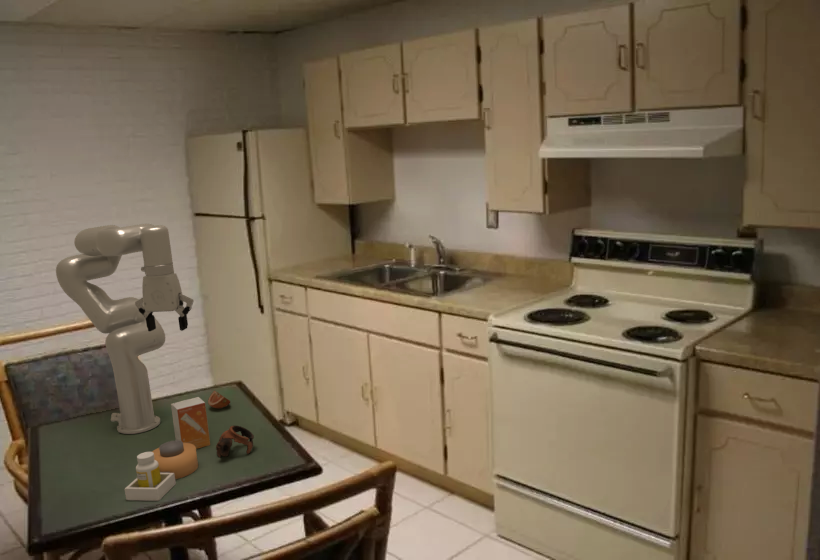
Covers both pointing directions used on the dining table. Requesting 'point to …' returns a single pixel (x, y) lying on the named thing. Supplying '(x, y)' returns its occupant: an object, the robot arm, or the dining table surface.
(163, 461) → the disc and frame
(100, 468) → the dining table surface
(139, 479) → the supplement bottle
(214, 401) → the fruit slice
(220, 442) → the brown curved piece
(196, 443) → the small box
